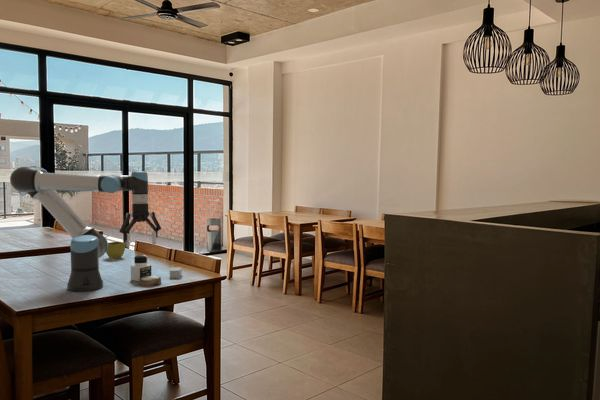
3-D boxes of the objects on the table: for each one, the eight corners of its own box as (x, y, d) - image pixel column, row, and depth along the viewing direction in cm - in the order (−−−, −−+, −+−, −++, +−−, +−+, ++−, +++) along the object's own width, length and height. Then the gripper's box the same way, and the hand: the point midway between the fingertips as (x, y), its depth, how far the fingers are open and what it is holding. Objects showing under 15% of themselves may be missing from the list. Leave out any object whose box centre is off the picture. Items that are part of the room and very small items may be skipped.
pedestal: (152, 287, 223) (152, 281, 223) (134, 285, 226) (134, 279, 226) (165, 282, 233) (165, 276, 232) (147, 280, 236) (147, 274, 236)
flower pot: (126, 257, 290) (125, 242, 290) (113, 259, 283) (113, 244, 282) (116, 255, 295) (116, 241, 294) (104, 258, 288) (104, 243, 287)
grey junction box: (179, 278, 241) (179, 270, 241) (169, 278, 241) (169, 270, 240) (181, 275, 248) (181, 267, 248) (171, 275, 248) (171, 267, 247)
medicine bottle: (140, 282, 232) (139, 257, 231) (130, 279, 236) (130, 255, 235) (151, 279, 238) (151, 255, 237) (142, 277, 242) (141, 253, 241)
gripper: (117, 204, 223) (118, 249, 225) (167, 202, 239) (168, 243, 241) (111, 203, 229) (112, 247, 230) (160, 201, 245) (161, 242, 247)
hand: (141, 245), depth 236 cm, fingers open, 13 cm apart
